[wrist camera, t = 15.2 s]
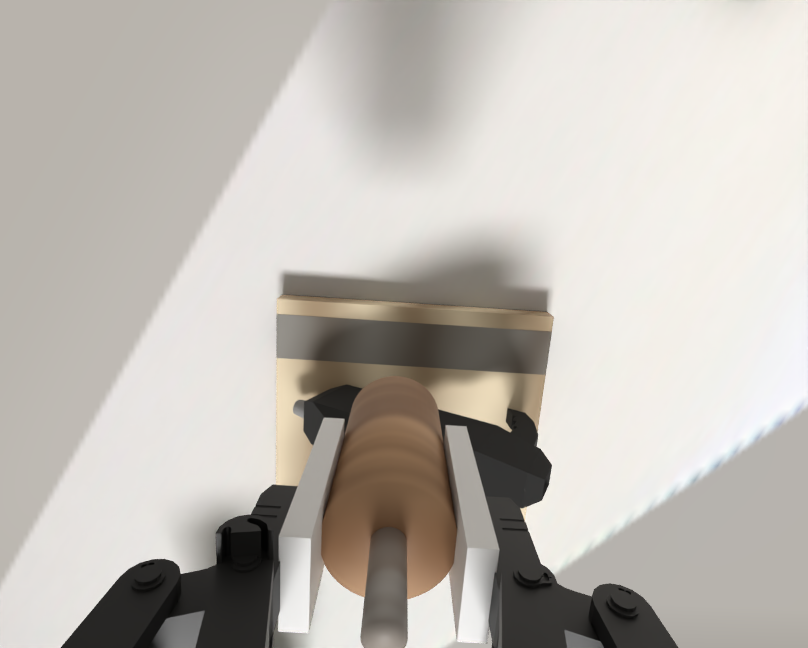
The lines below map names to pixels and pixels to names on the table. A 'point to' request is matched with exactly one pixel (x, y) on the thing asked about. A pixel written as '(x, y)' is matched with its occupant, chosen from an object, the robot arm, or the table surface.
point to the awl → (390, 506)
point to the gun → (492, 445)
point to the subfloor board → (406, 360)
